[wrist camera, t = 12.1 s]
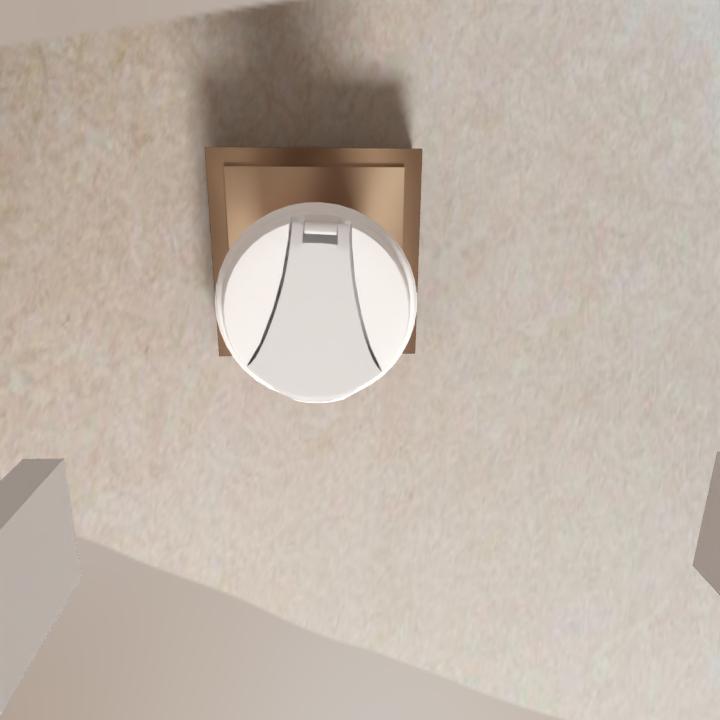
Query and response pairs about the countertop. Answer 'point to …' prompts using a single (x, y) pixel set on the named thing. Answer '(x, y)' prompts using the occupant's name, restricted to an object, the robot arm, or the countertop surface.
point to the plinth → (313, 193)
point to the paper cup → (316, 301)
